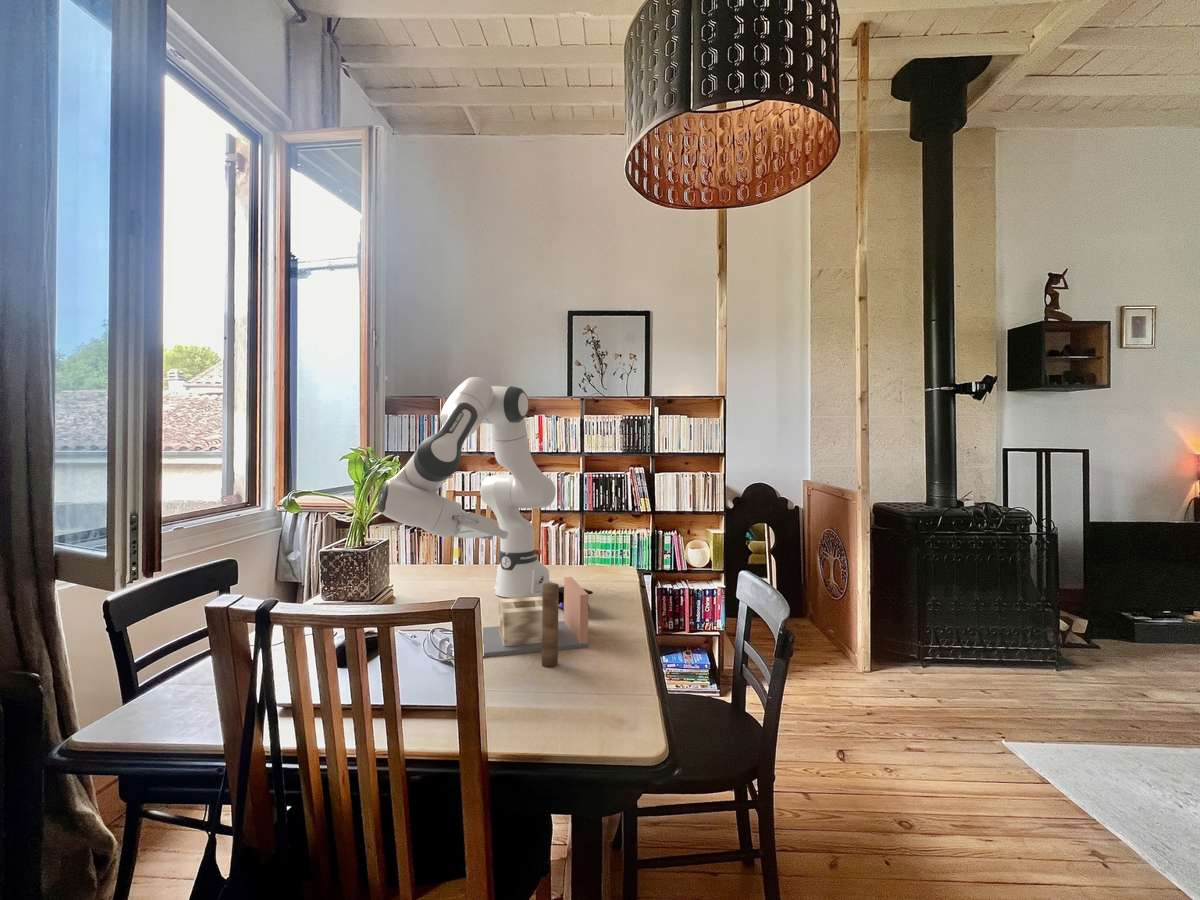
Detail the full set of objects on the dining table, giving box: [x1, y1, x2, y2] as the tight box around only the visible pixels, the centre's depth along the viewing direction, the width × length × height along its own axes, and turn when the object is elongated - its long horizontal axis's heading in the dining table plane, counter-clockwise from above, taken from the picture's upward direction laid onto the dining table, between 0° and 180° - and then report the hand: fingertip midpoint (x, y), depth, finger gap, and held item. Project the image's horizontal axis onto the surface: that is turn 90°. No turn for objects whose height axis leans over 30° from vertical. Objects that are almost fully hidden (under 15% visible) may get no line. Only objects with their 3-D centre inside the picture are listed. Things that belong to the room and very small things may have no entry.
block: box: [498, 595, 543, 646], centre depth 143 cm, size 12×12×8 cm
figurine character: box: [558, 586, 594, 613], centre depth 168 cm, size 7×8×15 cm
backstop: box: [482, 576, 589, 658], centre depth 143 cm, size 27×18×13 cm, turn 106°
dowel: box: [541, 582, 560, 669], centre depth 128 cm, size 4×4×18 cm
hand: (498, 536), depth 141 cm, fingers open, 8 cm apart
